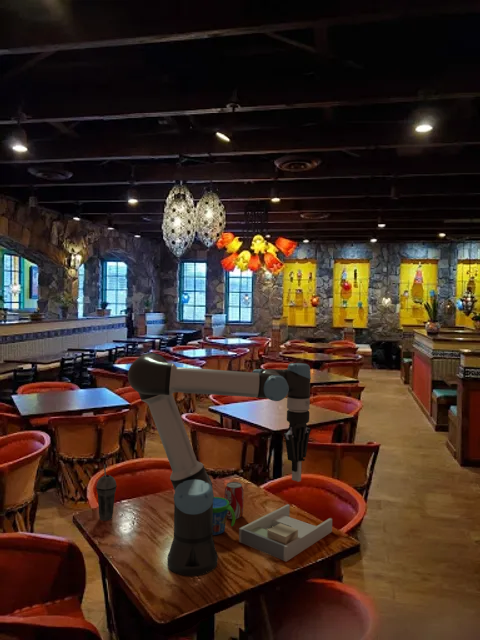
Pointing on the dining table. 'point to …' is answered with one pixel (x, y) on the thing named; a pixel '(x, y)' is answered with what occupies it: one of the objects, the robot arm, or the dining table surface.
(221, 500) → the snack cup
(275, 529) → the beech block
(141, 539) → the dining table surface
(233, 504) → the soda can
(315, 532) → the trap box
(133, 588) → the dining table surface
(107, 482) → the beverage cup
